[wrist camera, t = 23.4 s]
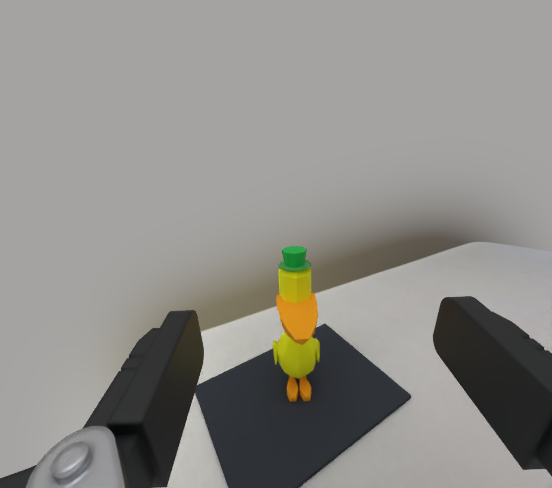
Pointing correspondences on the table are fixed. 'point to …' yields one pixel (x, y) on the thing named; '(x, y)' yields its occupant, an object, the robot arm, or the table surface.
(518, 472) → the table surface
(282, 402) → the rubber pad
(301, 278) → the toy figure
